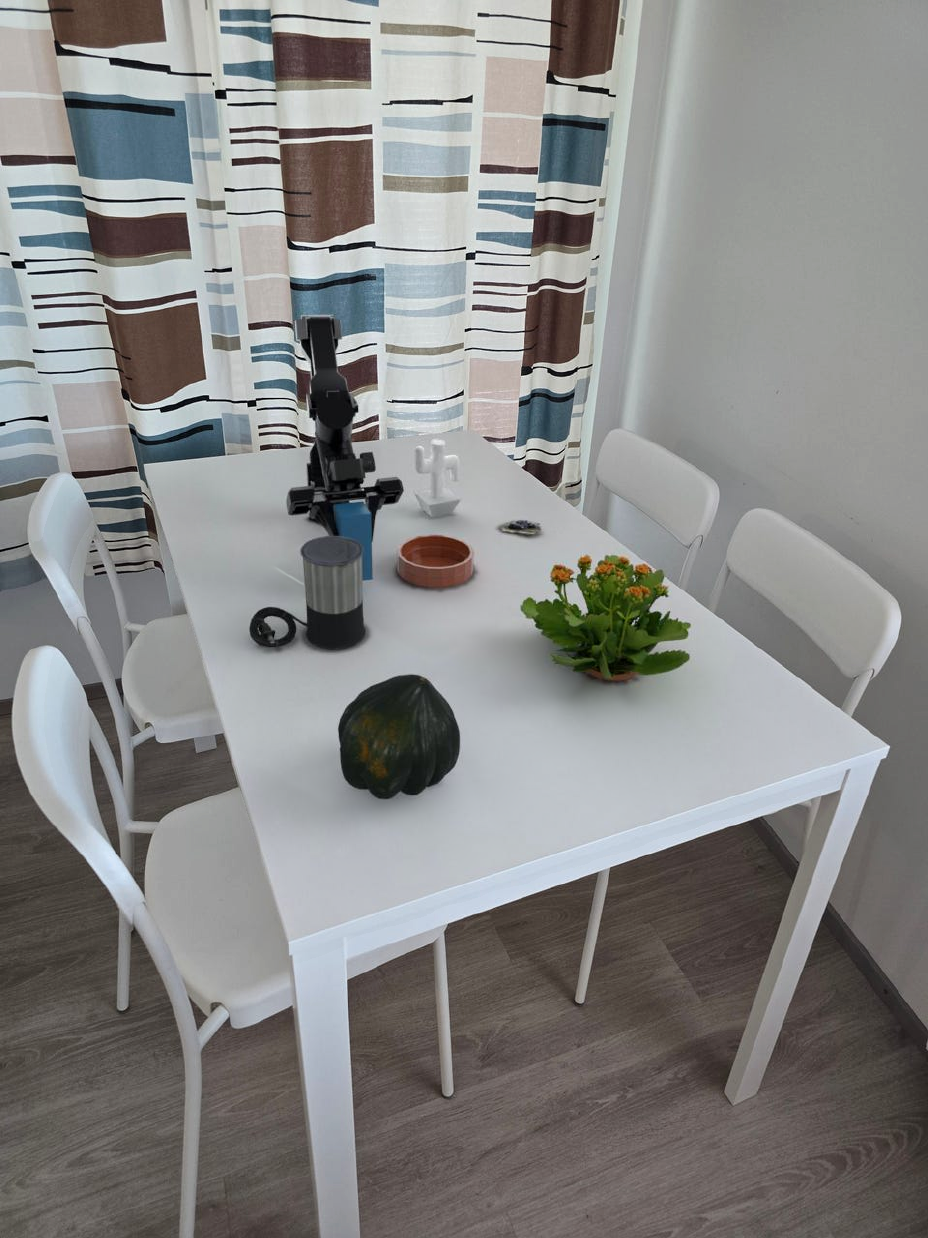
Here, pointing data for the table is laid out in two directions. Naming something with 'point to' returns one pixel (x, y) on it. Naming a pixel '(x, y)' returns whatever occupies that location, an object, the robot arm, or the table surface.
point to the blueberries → (522, 527)
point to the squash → (398, 737)
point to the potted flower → (610, 620)
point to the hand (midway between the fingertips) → (355, 544)
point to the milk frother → (323, 597)
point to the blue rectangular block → (356, 530)
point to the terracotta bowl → (435, 561)
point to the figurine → (437, 479)
